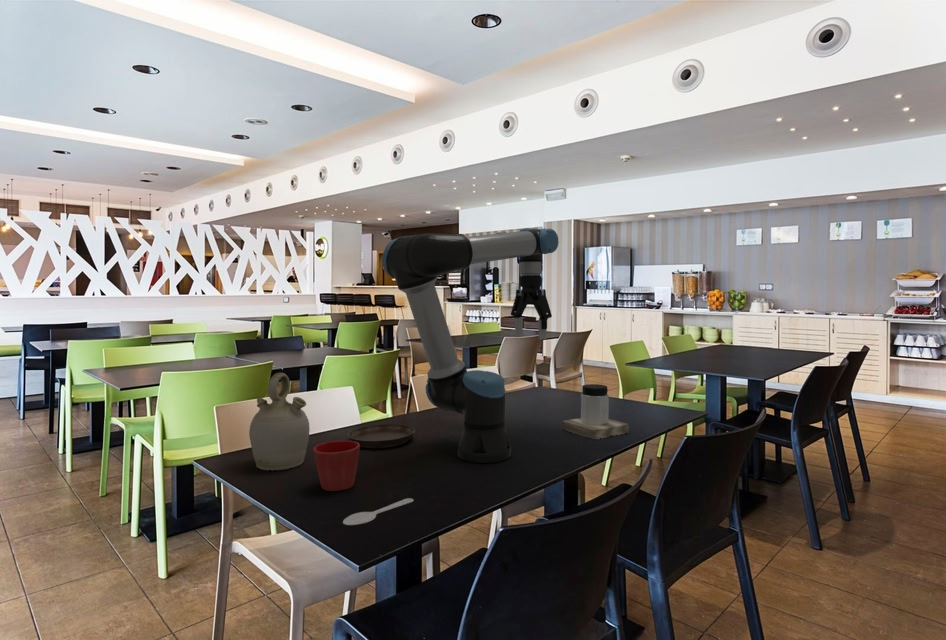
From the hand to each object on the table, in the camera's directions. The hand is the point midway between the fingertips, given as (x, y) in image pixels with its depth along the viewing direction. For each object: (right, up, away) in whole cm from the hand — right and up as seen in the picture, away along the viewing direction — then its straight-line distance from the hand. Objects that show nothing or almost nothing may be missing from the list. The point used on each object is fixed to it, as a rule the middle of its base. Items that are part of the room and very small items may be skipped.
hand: (530, 338), depth 188 cm
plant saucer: (-48, -32, -14) cm, 59 cm away
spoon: (-39, -35, -70) cm, 87 cm away
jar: (+21, -28, -5) cm, 35 cm away
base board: (+21, -31, -5) cm, 37 cm away
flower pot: (-52, -34, -54) cm, 82 cm away
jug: (-72, -33, -37) cm, 87 cm away
